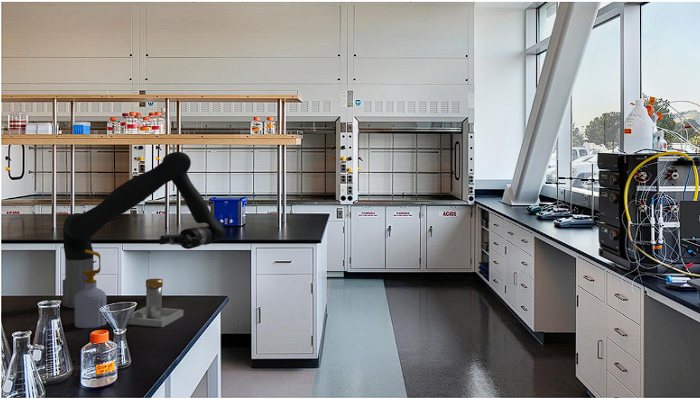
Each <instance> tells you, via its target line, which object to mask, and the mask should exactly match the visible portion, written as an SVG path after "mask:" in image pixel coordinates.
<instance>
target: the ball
mask: <svg viewBox="0 0 700 399" xmlns="http://www.w3.org/2000/svg"><path fill="white" fill-rule="evenodd" d="M133 317H135V318H143V315H142V313H140V312H137V313H135V314H134V315H133Z"/></svg>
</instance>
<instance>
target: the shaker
mask: <svg viewBox="0 0 700 399" xmlns="http://www.w3.org/2000/svg"><path fill="white" fill-rule="evenodd" d="M163 280H164V279H162V278H147V279H146V280H145V287H146V294H145V295H146V298H145V299H146V300H145V302H146V303H145V307H146V319H158V320H161V317H162V308H163V307H162V303H163V301H162V299H163V298H162V297H163V294H162V293H163V286H164V284H163V283H164V282H163Z"/></svg>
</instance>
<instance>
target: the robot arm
mask: <svg viewBox="0 0 700 399" xmlns="http://www.w3.org/2000/svg"><path fill="white" fill-rule="evenodd" d="M191 164H192V161H191V158H190V156H189V155H188V154H186V152H182V151H174V152H170V153H168V154H167V153H166V155H165V156H164V157H163V158H162V161H161V163H159V164H158V165H157V166H155V167H153V168H151V169H150V170H148V171H145V172H143V173H141V174H138V175H136V176H135V177H134V176H133V177H132V178H130V179H128V180H127V181H125V182H123V183H122V184H120V185H118V186H117V187H115V189H113V190H112V191H111V192H110V193H109V194H108V195H107V196H105V198H104V199H103V200H102V201H101V202H100V203H99V204H97V205H96V206H94V207H92V208H90V209H89V210H87V211H85V212H83V213H80V212H76V213H72V214H70V215H68V216H67V217H66V218H65V220H64V222H63V226H62V227H63V228H62V229H63V230H62V232H63V233H62V236H63V251H64V258H65V259H64V264H65V265H64V269H65V270H64V276H65V277H64V278H63V280H62V307H66V308H68V309H75V296H76V294H77V293H78V292H80V291H81V290H83V289H84V288H85V281H86V280H88V276H86V274H83V271H88V270H94V255H92V254H89V253H85V250H90V251H94V249H93V246H92V236H94V235H95V234H96V233H97V232H98V231H100V230H101V229H102V228H103V227H104V226H106V225H107V224H108V223H110V222H111V221H113V220H114V219H116V218H118V217H120V216H121V215H124V213H126V212H128V211H129V210H131V209H133V208H134V207H136V206H137V205H138V204H140V203H142V202H144V201H145V200H146V199H147V198H149V197H150V196H151V195H153V194H154V193H155V192H157V191H158V190H159V189H161V188H162V187H163V186H164V185H166V184H168V183H169V182H171V181H172V183H173V185H174V186H175V188H176V189H177V191H178V192H179V193H180V195H181V197H182V199H183V201H184V203H185V204H186V206H187V208H188V210H189V212H190V214H191V216H192V218H193V220H194V222H195V223H196V224H207V225H206V226H198V227H190V228H184V229H182V230H181V231H180V232H179V233H177V234H165V235H160V236H159V239H158V244H159V245H160V246H161V245H167V244H168V245H172V246H174V245H176V246H177V245H178V246H181V247H182V248H183V249H185V250H191V249H194V248H199V247H201V246H207V245H210V244H212V243H215V242H218V241H220V240H222V239H223V238H225V235H226V230H225V227H224V226H223V224H221V222H220V221H218V219H217V218H216V217H215V216H214V214H213V213H212V212H211V210H210V209H209V208H210V207H209V206H208V205H207V202H206V201H205V199H204V197H203V196H202V194H201V193H200V192H199V190H198V189H197V188H196V187H195V186H194V184H193V182H192V181H191V179H190V177H189V175H188V171H189V170H190V169H191Z"/></svg>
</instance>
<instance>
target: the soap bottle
mask: <svg viewBox="0 0 700 399" xmlns="http://www.w3.org/2000/svg"><path fill="white" fill-rule="evenodd" d="M85 253H89V254H92V255H93V256H96V257H98V269H93V270H88V271H83V274H86V276H88V280H86V281H85V288H84V289H83V290H81V291H80V292H78V293H77V294H76V296H75V308H74V327H76V328H81V329H93V328H98V327H101V326H102V327H103V326H105V325H106V324H107V319H106V320H105V318H104V317H103V315H102V314H101V313H100V311H99V309H100V308H101V307H103V306H105V305H106V306H107V294H106V293H105V292H106V291H104V290H102V289H101V288H98V287H97V279H94V278H95V276H96V275H97V274H99V273H100V272H101V254H100V253H99V252H98V251H97V252H96V251H94V250H93V251H90V250H85Z"/></svg>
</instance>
